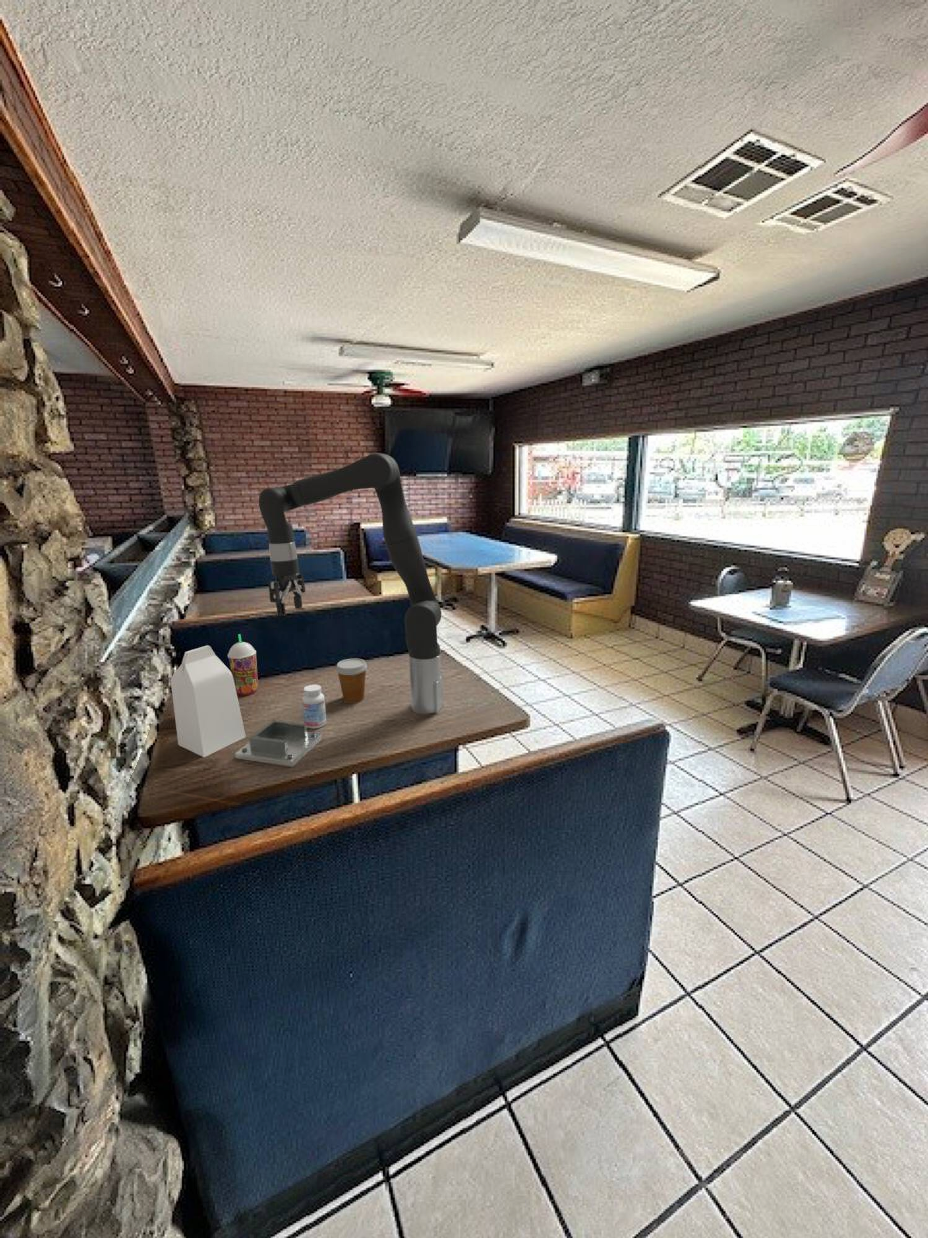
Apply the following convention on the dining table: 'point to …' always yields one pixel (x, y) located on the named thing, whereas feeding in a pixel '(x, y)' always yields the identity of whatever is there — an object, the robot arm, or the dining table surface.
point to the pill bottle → (313, 707)
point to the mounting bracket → (279, 743)
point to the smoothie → (243, 667)
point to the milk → (205, 703)
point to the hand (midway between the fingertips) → (290, 611)
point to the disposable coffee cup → (352, 679)
